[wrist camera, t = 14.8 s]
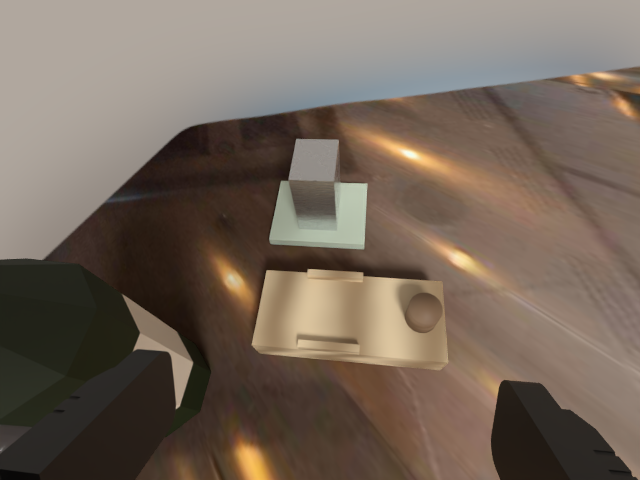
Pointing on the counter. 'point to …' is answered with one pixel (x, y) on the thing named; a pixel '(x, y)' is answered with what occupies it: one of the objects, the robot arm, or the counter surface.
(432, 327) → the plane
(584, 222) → the counter surface
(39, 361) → the wine bottle
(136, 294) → the counter surface
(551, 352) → the counter surface
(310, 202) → the grey upright block
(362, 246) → the pad
